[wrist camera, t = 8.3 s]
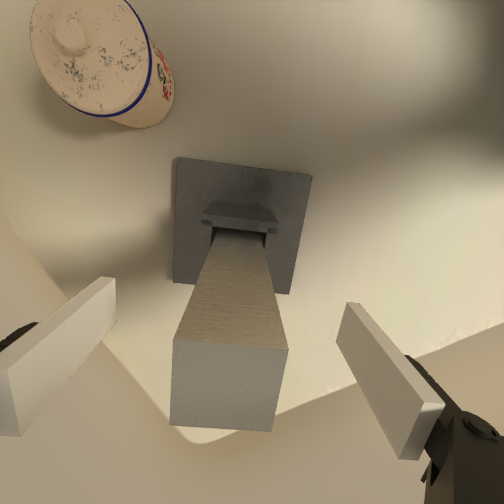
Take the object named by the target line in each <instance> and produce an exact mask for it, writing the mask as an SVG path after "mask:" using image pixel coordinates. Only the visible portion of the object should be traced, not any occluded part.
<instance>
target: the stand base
mask: <svg viewBox="0 0 504 504" xmlns="http://www.w3.org/2000/svg"><path fill="white" fill-rule="evenodd" d="M311 181H312V176H311V175H303V174H296V173H289V172H282V171H275V170H268V169H261V168H253V167H246V166H239V165H232V164H225V163H218V162H211V161H203V160H196V159H189V158H182V157H177V182H176V208H175V234H174V260H173V282H174V283H183V284H193V285H196V282H197V280H198V278H199V275H200V273H201V270H202V268H203V265H204V263H205V260H206V258H207V256H208V253H209V251H210V248H211V246H212V243H213V241H214V239H215V236H216V234H217V231H218V229H219V227H223V228H231V229H240V230H248V231H256V232H260V236H261V240H262V244H263V248H264V252H265V256H266V260H267V264H268V268H269V272H270V276H271V280H272V284H273V288H274V292H275V293H279V294H288V295H289V292H290V287H291V282H292V277H293V272H294V267H295V262H296V257H297V252H298V247H299V241H300V236H301V231H302V226H303V221H304V216H305V211H306V206H307V201H308V196H309V191H310V186H311Z"/></svg>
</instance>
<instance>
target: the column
mask: <svg viewBox="0 0 504 504" xmlns="http://www.w3.org/2000/svg"><path fill="white" fill-rule="evenodd" d="M288 351H289V349H288V344H287V340H286V336H285V332H284V328H283V324H282V320H281V316H280V312H279V308H278V304H277V300H276V296H275V292H274V288H273V284H272V280H271V276H270V272H269V268H268V264H267V260H266V256H265V252H264V248H263V244H262V240H261V236H260V232H256V231H248V230H240V229H231V228H223V227H219V229H218V231H217V234H216V236H215V239H214V241H213V243H212V246H211V248H210V251H209V253H208V256H207V258H206V260H205V263H204V265H203V268H202V270H201V273H200V275H199V278H198V280H197V282H196V285H195V287H194V290H193V292H192V295H191V297H190V299H189V302H188V304H187V307H186V309H185V312H184V314H183V316H182V319H181V321H180V324H179V326H178V329H177V331H176V333H175V336H174V338H173V354H172V378H171V401H170V425H172V426H187V427H203V428H218V429H234V430H250V431H265V432H271V430H272V425H273V421H274V416H275V411H276V407H277V402H278V397H279V393H280V388H281V383H282V379H283V374H284V369H285V365H286V360H287V355H288Z"/></svg>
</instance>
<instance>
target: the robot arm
mask: <svg viewBox="0 0 504 504" xmlns="http://www.w3.org/2000/svg"><path fill="white" fill-rule="evenodd" d="M116 322H117V313H116V287H115V278H111V277H102V276H100V277H99V278H98V279H97V280H95V281H94V282H93V283H91V284H90V285H89V286H87V287H86V288H85V289H83V290H82V291H81V292H79V293H78V294H77V295H75V296H74V297H73V298H71V299H70V300H69V301H67V302H66V303H65V304H64V305H62V306H61V307H60V308H58V309H57V310H56V311H54V312H53V313H52V314H50V315H49V316H48V317H46V318H45V319H44V320H42V321H41V322H40V323H37V322H33V323H30V324H28V325H26V326H24V327H22V328H19V329H17V330H16V331H15V332H13V333H12V334H10V335H9V336H7V337H6V339H5V340H2V341H1V342H0V436H15V437H21V436H22V435H23V434H24V433H25V432H26V430H27V429H28V428H29V427H30V426H31V424H32V423H33V422H34V420H35V419H36V418H37V417H38V416H39V415H40V413H41V412H42V411H43V409H45V407H46V406H47V405H48V404H49V403H50V401H51V400H52V399H53V398H54V397H55V395H56V394H57V393H58V392H59V390H60V389H61V388H62V387H63V386H64V384H65V383H66V382H67V381H68V380H69V378H70V377H71V376H72V375H73V374H74V372H75V371H76V370H77V369H78V367H79V366H80V365H81V364H82V363H83V361H84V360H85V359H86V358H87V356H88V355H89V354H90V353H91V352H92V351H93V349H94V348H95V347H96V346H97V345H98V343H99V342H100V341H101V340H102V339H103V337H104V336H105V335H106V334H107V332H108V331H109V330H110V329H111V328H112V326H113V325H114V324H115V323H116ZM336 343H337V345H338V346H339V348H340V350H341V352H342V354H343V356H344V358H345V360H346V361H347V363H348V365H349V367H350V369H351V371H352V373H353V375H354V376H355V378H356V380H357V382H358V384H359V386H360V387H361V389H362V392H363V393H364V395H365V397H366V399H367V401H368V403H369V405H370V406H371V408H372V410H373V412H374V414H375V416H376V418H377V420H378V422H379V423H380V425H381V427H382V429H383V431H384V433H385V435H386V436H387V438H388V440H389V442H390V444H391V446H392V448H393V449H394V451H395V453H396V455H397V457H398V459H405V460H419V458H420V455H421V453H422V451H423V449H425V450H426V452H427V454H428V455H429V457H430V458H431V461H430V463H429V465H428V467H427V469H426V471H425V473H424V474H423V476H422V479H421V481H422V482H423V483H424V482H425V480H426V491H425V500H424V504H504V436H501V435H500V434H499V433H498V432H497V431H496V430H495V428H494V427H492V426H491V425H490V424H489V423H487V422H486V421H485V420H483V419H481V418H480V417H478V416H477V415H474V414H472V413H469V412H467V411H462V410H461V409H460V408H459V407H458V406H457V405H456V403H455V402H454V401H453V400H452V399H451V398H450V397H449V396H448V395H447V394H446V392H445V391H444V390H443V389H442V388H441V387H440V386H439V385H438V384H437V383H435V380H434V379H433V378H432V377H431V376H430V375H428V372H427V371H426V370H425V369H424V368H423V367H422V366H421V365H420V364H419V363H418V362H417V361H415V360H414V359H413V358H411V357H410V356H409V355H403V354H402V352H401V351H400V350H399V349H398V348H397V347H396V345H395V344H394V343H393V342H392V341H391V340H390V338H389V337H388V336H387V335H386V334H385V333H384V331H383V330H382V329H381V328H380V327H379V326H378V324H377V323H376V322H375V321H374V320H373V319H372V317H371V316H370V315H369V314H368V313H367V312H366V310H365V309H364V308H363V307H362V306H361V305H360V303H351V302H347V304H346V307H345V311H344V314H343V318H342V321H341V325H340V329H339V332H338V336H337V339H336Z"/></svg>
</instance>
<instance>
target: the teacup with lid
mask: <svg viewBox="0 0 504 504" xmlns="http://www.w3.org/2000/svg"><path fill="white" fill-rule="evenodd" d="M30 41H31V47H32V51H33V55H34V58H35V61H36V63H37V65H38V68H39V70H40V72H41V74H42V75H43V77H44V79H45V80H46V82H47V83H48V84H49V86H50V87H51V88H52V89H53V90H54V92H55V93H56V94H57V95H58V96H59V97H60V98H61V99H62V100H64V101H65V102H66V103H67V104H69V105H70V106H71V107H73V108H75V109H76V110H78V111H80V112H83V113H85V114H88V115H91V116H96V117H105V118H107V119H110V120H113V121H116V122H118V123H121V124H124V125H127V126H130V127H134V128H147V127H151V126H153V125H155V124H157V123H159V122H160V121H161V120H163V119H164V118H165V116H166V115H167V114H168V112H169V111H170V109H171V106H172V103H173V100H174V91H175V88H174V79H173V75H172V72H171V69H170V67H169V65H168V63H167V61H166V60H165V58H164V57H163V55H162V54H161V52H160V51H159V50H158V48H157V47H156V45H155V44H154V43H153V41H152V40H151V38H150V37H149V36H148V34H147V33H146V30H145V28H144V26H143V24H142V22H141V20H140V18H139V17H138V15H137V14H136V12H135V11H134V9H133V8H132V7H131V6H130V4H129V3H128V2H127V1H126V0H37V2H36V4H35V7H34V9H33V12H32V16H31V21H30Z"/></svg>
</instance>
